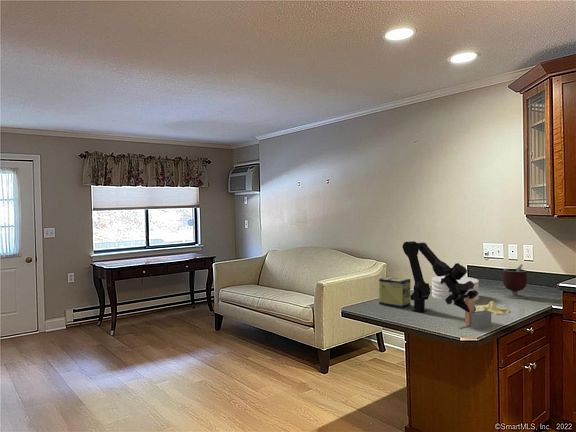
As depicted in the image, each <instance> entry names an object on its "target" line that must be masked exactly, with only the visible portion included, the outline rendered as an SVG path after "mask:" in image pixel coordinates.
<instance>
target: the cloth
mask: <svg viewBox="0 0 576 432" xmlns="http://www.w3.org/2000/svg"><path fill="white" fill-rule="evenodd" d="M475 309H476V312H479V311H484V310H486V311H489V312H491V314H493V315H496V316H506V314H507V313H510V309H508V308H505V307H497V304H496V301H494V300H491V301H489V302H488V304H482V305H477V306H475ZM505 313H506V314H505Z"/></svg>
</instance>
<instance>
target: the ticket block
mask: <svg viewBox="0 0 576 432" xmlns="http://www.w3.org/2000/svg"><path fill="white" fill-rule="evenodd" d="M491 326H492V313H491V312H489V311H486V310H484V311H480V310H478V311H476V312H474V313H472V324H465V325H461V326H457V329H458V330H460V329H465V328H469V327H471V328H472V329H473V328H474V329H476V330H480V329H484V328H487V327H491Z"/></svg>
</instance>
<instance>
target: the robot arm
mask: <svg viewBox="0 0 576 432" xmlns="http://www.w3.org/2000/svg"><path fill="white" fill-rule="evenodd" d="M402 249H403V252H404V254H405V255H406V257H408V261H409V264H410V269H411V273H412V277H413V280H414V285H413V293H411V294H410V301H413V309H412V310H411V311H413V312H416V313H417V312H418V313H425V312H427V308H426V306H425V305H426V300H429V297H430V295H431V288H430V283H427V282H425V280H424V276H423V272H422V268H421V265H420V261H419V257H418V254H419V252H420V253H421V254H422V255H423V256H424V258H426V260H427V261H428V262H429V264H430V265H431V267H432V271H433V272H434V274H435V275H436V277H437V276H445V277H444V278H441V282H440V283H441V284H443V283H445V284H446V285H447V287H448V288H449V293H450V292H452V294H450V295H449V296H448V297H447V298H446V301H445V302H446V304H447V305H454V306H456V307H457V308H460V309H462V310H464V312H465V311H467V312H470V310H469V308H468V307H467V305H466V303H465V302H464V300H465V299H469V298H471V299H473V298H475V297H476V296H477V295H478V292H479V291H478V292H477V291H476V290H471V291H469V292H468V290H469V289H473V287H474V284H473V282H472V281H469V282H467V283H465V284H461V283H460V284H459V283H458V281H457V280H460V279H461V278H462V277H465V275H466V274H467V273H468V269H467V268H466V267H465V266H463V265H462V264H460V263H459V262H458V263H457V262H455V264H454V265H453V266H452V267H450V266H449V265H448V264H447V263H446V262H444V261H443V260H441V259H439V257H437V255H436V254H435V253H434V252H433V250H432V249H431V248H430V246H428V244H427V243H426V242H423V241H422V242H416V241H414V240H413V241H411V240H410V241H405V242H403V244H402ZM466 292H468V293H467V294H466ZM478 296H479V295H478ZM452 300H454V301H452ZM453 302H454V303H453ZM476 309H477V308H475V311H476ZM476 312H477V311H476Z"/></svg>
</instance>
